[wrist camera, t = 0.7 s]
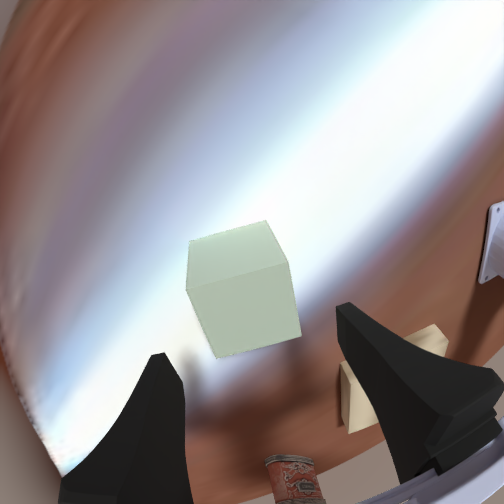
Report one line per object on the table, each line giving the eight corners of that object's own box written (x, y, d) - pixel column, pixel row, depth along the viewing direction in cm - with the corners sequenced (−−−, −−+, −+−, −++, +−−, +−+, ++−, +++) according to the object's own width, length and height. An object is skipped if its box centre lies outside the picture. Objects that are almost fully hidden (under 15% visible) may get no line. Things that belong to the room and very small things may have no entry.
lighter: (318, 458, 34) (337, 517, 25) (300, 468, 35) (317, 525, 26) (276, 452, 31) (294, 522, 22) (258, 462, 32) (272, 529, 23)
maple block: (432, 321, 25) (448, 340, 22) (417, 380, 29) (428, 398, 27) (338, 358, 24) (350, 384, 22) (339, 412, 29) (348, 433, 26)
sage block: (265, 219, 17) (288, 261, 13) (280, 283, 19) (301, 335, 15) (189, 240, 17) (185, 289, 13) (211, 302, 19) (216, 358, 15)
